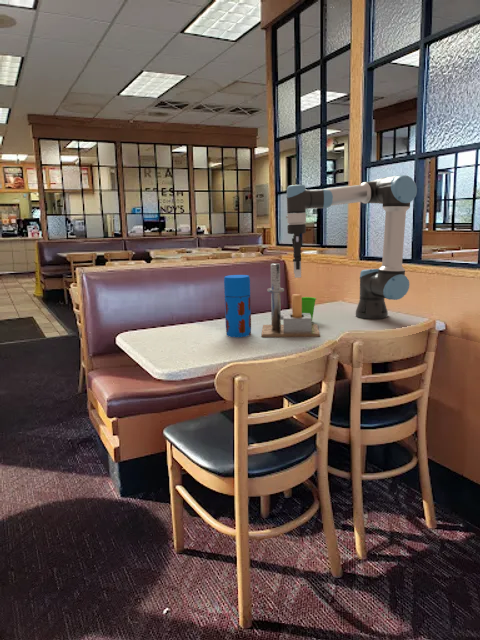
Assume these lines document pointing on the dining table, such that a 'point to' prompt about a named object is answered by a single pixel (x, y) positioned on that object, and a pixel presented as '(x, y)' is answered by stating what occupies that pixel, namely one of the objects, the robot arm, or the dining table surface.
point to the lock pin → (297, 305)
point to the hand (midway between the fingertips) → (297, 275)
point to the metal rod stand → (286, 315)
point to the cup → (308, 305)
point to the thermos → (237, 305)
